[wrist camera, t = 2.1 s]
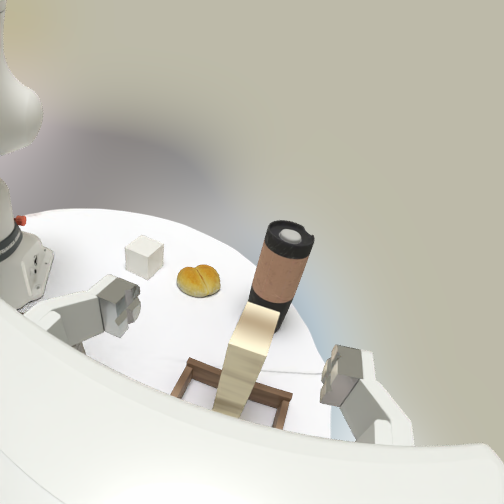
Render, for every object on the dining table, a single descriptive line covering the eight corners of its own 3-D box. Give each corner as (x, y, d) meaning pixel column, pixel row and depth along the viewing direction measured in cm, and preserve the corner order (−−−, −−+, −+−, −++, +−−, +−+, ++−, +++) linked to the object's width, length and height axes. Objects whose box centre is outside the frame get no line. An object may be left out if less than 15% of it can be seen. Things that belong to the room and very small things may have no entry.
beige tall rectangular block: (232, 433, 35) (266, 356, 24) (208, 424, 35) (228, 343, 24) (244, 400, 40) (280, 312, 29) (222, 393, 40) (247, 301, 29)
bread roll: (172, 276, 61) (172, 261, 58) (210, 270, 65) (212, 256, 63) (184, 302, 55) (185, 287, 53) (225, 295, 59) (228, 280, 57)
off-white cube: (126, 270, 59) (124, 247, 55) (141, 257, 63) (141, 234, 60) (148, 280, 58) (147, 257, 54) (163, 266, 63) (163, 243, 59)
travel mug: (237, 328, 52) (262, 235, 42) (249, 302, 59) (272, 215, 48) (277, 341, 51) (313, 251, 41) (284, 314, 58) (317, 229, 47)
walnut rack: (248, 526, 23) (254, 526, 21) (127, 481, 25) (122, 476, 23) (284, 405, 40) (292, 393, 38) (188, 371, 42) (189, 357, 40)
